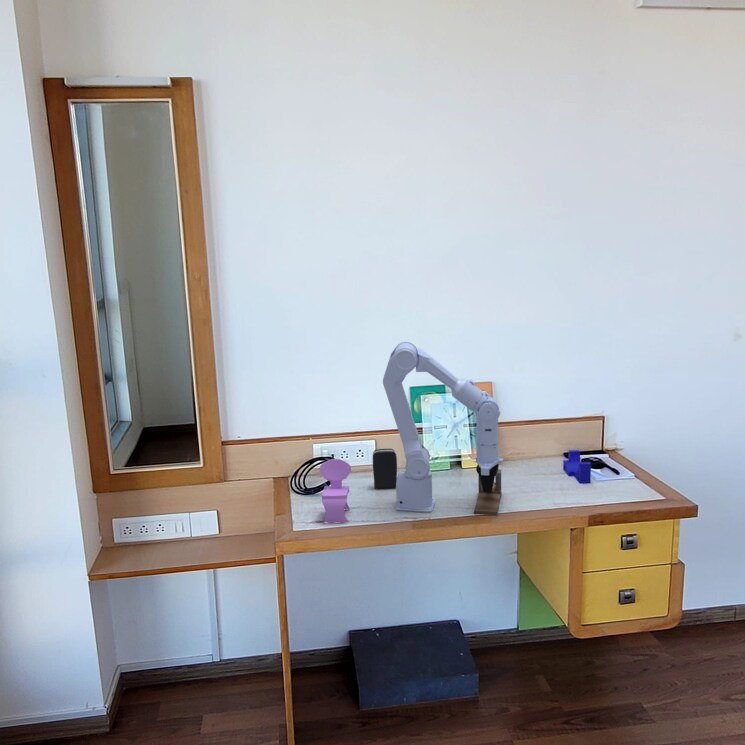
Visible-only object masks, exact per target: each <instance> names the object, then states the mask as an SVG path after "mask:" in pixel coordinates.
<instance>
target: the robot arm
mask: <svg viewBox="0 0 745 745" xmlns="http://www.w3.org/2000/svg"><path fill="white" fill-rule="evenodd" d="M414 369H415V372H416V373H427V374H429V375H431V376H432V377H434V378H435V379H436V380H438V381H439V382H441V383H442V384H443V385H445V386H446V387H448V388H449V389H450V390H451V397H453V398H454V399H455V400H457V401H458V402H459V403H461V404H462V405H463V406H465V407H466V408H468V410H470V411H471V412H474V413H476V426H475V427H476V436H475V437H476V438H475V440H476V447H475V448H476V450H475V451H476V458H475V463H476V464H477V465H476V468H475V470H476V473H477V474H479V477H480V479H481V483H482V488H483V492H487V493H491V492H492V488H493V483H494V482H495V479H494V478H495V475H496V473H497V471H498V469H499V468H500V467H499V466H500V464H503V463H504V458H503V457H499V456H500V454H499V447H500V446H499V430H500V428H499V418H500V415H501V411H500V407H499V405H498V402H497V400H496V399H495V398H494V397H493V396H492V395H491V394H489V393H488V392H487V391H485V392H484V391H483V390H481V389H480V388H479V387H477V385H475V384H476V383H475V381H474V380H472V379H467V378H458V377H456V375H454V374H453V373H452V372H451V371H449V370H448V369H447V368H446V367H444V366H443V364H441V363H440V362H438V360H437V359H435V358H434V357H433V356H432V355H430V354H428V353H427V352H426V351H425V350H423V349H421V348H420V347H418V348H417V347H416V345H415V344H413V343H412V342H410V341H403V342H402V341H401V342H400V343H398V344H397V345H396V346H395V347H394V349H393V350H392V352H391V353H390V356H389V359H388V362H387V365H386V368H385V372H384V374H383V378H382V384H383V388H384V390H385V394H386V396H387V400H388V402H389V406H390V409H391V413H392V415H393V416H392V417H393V419H394V421H395V424H396V428H397V430H398V434H399V436H400V440H401V442H402V443H401V444H402V446H403V452H404V457H405V461H406V462H405V471H404V472H403V473H402V472H401V473H397V480H396V488H395V493H396V494H395V495H396V508H395V510H396V511H406V512H407V511H408V512H410V511H411V512H421V513H423V512H425V513H426V512H427V513H432V511H433V509H434V507H435V504H436V502H437V500H436V499H435V498H433V472H432V471H431V466H430V465H431V464H430V457H431V454H430V451H429V450H428V449H427V448H426V447H425V445H424V444H423V441H422V439H421V437H420V436H419V432H418V429H417V426H416V422H415V420H414V416H413V414H412V410H411V408H410V404H409V401H408V399H407V395H406V391H405V389H404V385H403V382H404V380H405V379H406V377H407V375H409V373H411V372H412V371H413V370H414Z"/></svg>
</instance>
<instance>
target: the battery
mask: <svg viewBox="0 0 745 745" xmlns="http://www.w3.org/2000/svg"><path fill="white" fill-rule="evenodd" d="M372 474H373V488H374V489H375V490H389V489H390V490H392V489H396V480H397V476H398V457H397V453H396V451H395V449H393V448H378V449H374V450H373V452H372Z"/></svg>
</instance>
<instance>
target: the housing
mask: <svg viewBox="0 0 745 745" xmlns="http://www.w3.org/2000/svg"><path fill="white" fill-rule="evenodd" d="M477 474H478V473H477ZM477 481H478V483H477V484H478V493H484V492H483V491H482V489H481V486H482V483H481V479H480V477H479V474H478V480H477ZM494 482H495V490H494V492H493V493H491V494H501V495H502V469H499V468H498V471H497V473H496V475H495V479H494Z"/></svg>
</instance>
